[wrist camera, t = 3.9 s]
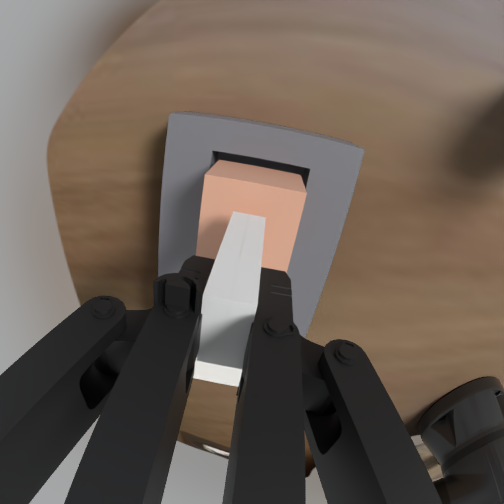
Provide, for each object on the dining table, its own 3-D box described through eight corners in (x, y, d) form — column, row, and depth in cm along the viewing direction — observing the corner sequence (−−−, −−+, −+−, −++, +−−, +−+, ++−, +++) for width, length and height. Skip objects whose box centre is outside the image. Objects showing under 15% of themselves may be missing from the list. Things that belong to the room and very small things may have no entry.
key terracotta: (283, 247, 20) (284, 279, 17) (209, 233, 20) (195, 262, 17) (300, 174, 18) (307, 193, 15) (219, 159, 18) (204, 174, 15)
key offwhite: (256, 352, 25) (253, 388, 22) (197, 341, 25) (187, 376, 21) (268, 306, 23) (266, 343, 19) (202, 294, 23) (189, 329, 19)
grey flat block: (288, 349, 29) (289, 376, 26) (169, 327, 29) (159, 351, 26) (351, 142, 20) (364, 149, 17) (185, 111, 20) (169, 113, 17)
